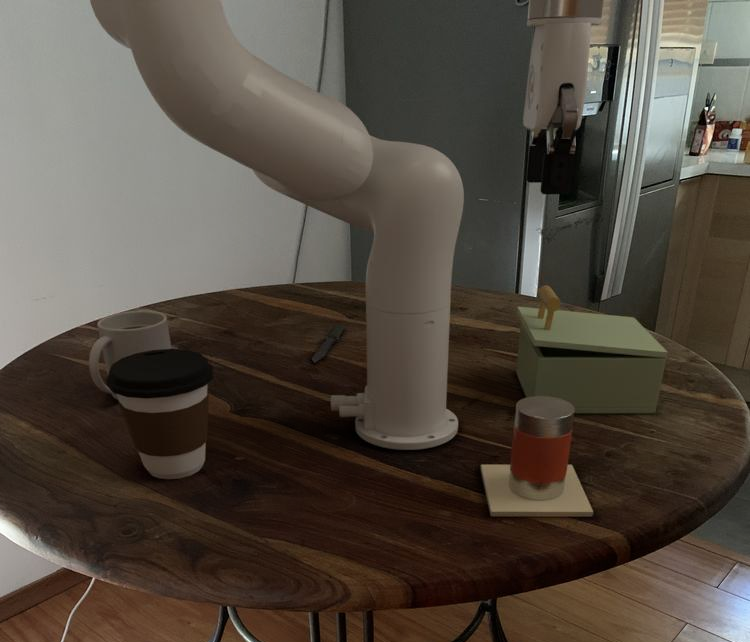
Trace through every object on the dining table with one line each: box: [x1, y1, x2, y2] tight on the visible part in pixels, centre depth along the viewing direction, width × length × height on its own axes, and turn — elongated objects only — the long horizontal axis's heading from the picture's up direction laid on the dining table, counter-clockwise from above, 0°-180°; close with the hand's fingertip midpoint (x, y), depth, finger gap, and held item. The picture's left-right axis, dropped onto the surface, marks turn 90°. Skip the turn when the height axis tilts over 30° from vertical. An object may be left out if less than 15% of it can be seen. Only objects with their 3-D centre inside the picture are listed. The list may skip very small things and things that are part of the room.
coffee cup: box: [105, 348, 214, 480], centre depth 79 cm, size 11×11×12 cm
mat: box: [480, 464, 594, 518], centre depth 76 cm, size 10×10×1 cm
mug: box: [88, 310, 172, 401], centre depth 99 cm, size 11×10×10 cm
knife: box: [311, 322, 346, 364], centre depth 118 cm, size 18×1×3 cm
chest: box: [516, 323, 667, 414], centre depth 98 cm, size 16×15×7 cm
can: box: [509, 396, 575, 501], centre depth 74 cm, size 6×6×9 cm
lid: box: [516, 284, 669, 359], centre depth 95 cm, size 16×15×5 cm
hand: (547, 187), depth 84 cm, fingers open, 9 cm apart
